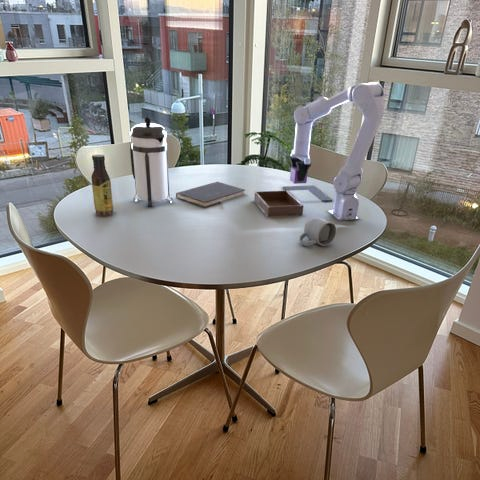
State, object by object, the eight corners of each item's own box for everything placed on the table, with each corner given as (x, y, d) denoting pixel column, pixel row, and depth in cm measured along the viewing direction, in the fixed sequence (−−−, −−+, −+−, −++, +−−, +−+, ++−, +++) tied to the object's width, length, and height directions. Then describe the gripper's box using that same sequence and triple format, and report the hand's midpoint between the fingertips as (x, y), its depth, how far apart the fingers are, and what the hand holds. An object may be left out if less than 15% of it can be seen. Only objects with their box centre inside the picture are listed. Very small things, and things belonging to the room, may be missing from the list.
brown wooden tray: (302, 216, 168) (303, 205, 166) (267, 218, 165) (268, 207, 163) (286, 200, 183) (287, 190, 181) (254, 202, 180) (254, 191, 178)
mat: (332, 201, 184) (332, 199, 184) (299, 202, 181) (299, 201, 181) (313, 186, 201) (313, 185, 200) (282, 187, 198) (283, 186, 197)
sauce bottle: (109, 217, 160) (102, 158, 149) (92, 215, 161) (84, 157, 150) (117, 211, 165) (110, 154, 155) (100, 209, 166) (93, 152, 156)
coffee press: (177, 196, 183) (174, 114, 167) (168, 209, 169) (163, 121, 153) (134, 193, 184) (127, 111, 168) (121, 206, 170) (112, 118, 154)
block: (306, 183, 177) (307, 170, 174) (294, 183, 176) (295, 170, 173) (301, 179, 181) (303, 166, 178) (289, 180, 180) (290, 167, 177)
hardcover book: (244, 195, 187) (245, 189, 186) (204, 208, 172) (204, 202, 171) (216, 186, 195) (216, 181, 194) (175, 198, 180) (175, 192, 179)
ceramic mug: (318, 235, 153) (321, 212, 149) (335, 243, 147) (338, 220, 143) (293, 241, 148) (295, 218, 144) (309, 250, 142) (312, 227, 138)
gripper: (285, 137, 175) (282, 174, 183) (299, 146, 164) (295, 184, 171) (302, 137, 177) (299, 173, 184) (317, 145, 165) (312, 183, 173)
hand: (298, 178), depth 178 cm, fingers closed on block, 5 cm apart
